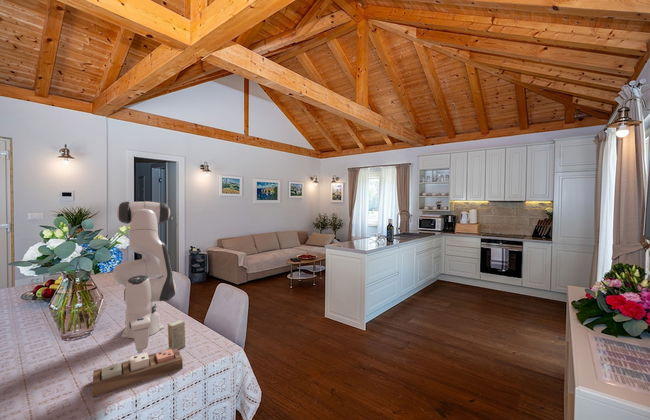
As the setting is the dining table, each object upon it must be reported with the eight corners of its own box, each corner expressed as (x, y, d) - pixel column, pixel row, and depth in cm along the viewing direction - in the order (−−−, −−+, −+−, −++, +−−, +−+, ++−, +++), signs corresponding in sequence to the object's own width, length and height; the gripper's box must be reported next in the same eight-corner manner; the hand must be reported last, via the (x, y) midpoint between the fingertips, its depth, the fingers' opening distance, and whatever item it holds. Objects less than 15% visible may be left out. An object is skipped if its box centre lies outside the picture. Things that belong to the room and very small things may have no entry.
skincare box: (181, 343, 141) (181, 319, 140) (185, 346, 138) (185, 321, 137) (167, 348, 136) (167, 323, 135) (171, 352, 133) (171, 326, 132)
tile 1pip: (102, 380, 111) (101, 367, 111) (121, 375, 115) (120, 362, 114) (102, 389, 106) (101, 375, 106) (121, 382, 110) (121, 369, 110)
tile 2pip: (130, 368, 116) (129, 356, 116) (147, 363, 120) (147, 351, 120) (131, 376, 112) (130, 363, 111) (149, 370, 115) (149, 358, 115)
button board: (93, 380, 112) (93, 370, 112) (176, 355, 129) (176, 347, 129) (92, 397, 102) (92, 386, 102) (182, 368, 120) (182, 358, 120)
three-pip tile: (155, 364, 122) (155, 352, 122) (171, 360, 125) (171, 348, 125) (157, 371, 117) (157, 358, 117) (174, 366, 121) (174, 354, 121)
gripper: (127, 311, 121) (128, 343, 122) (131, 328, 105) (132, 365, 105) (145, 308, 125) (146, 339, 126) (151, 323, 109) (152, 359, 109)
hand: (139, 351), depth 115 cm, fingers closed
